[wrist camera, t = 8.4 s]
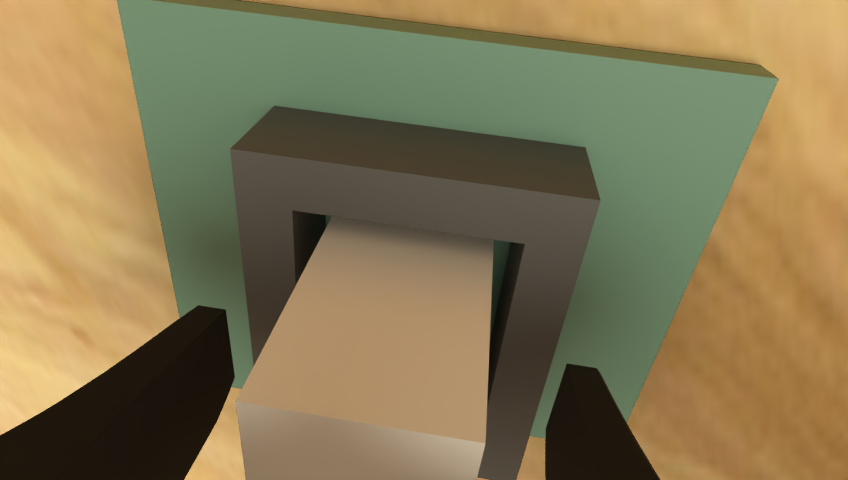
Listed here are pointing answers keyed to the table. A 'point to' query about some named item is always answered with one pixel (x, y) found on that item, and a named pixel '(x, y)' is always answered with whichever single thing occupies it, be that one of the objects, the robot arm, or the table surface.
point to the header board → (441, 175)
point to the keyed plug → (375, 361)
